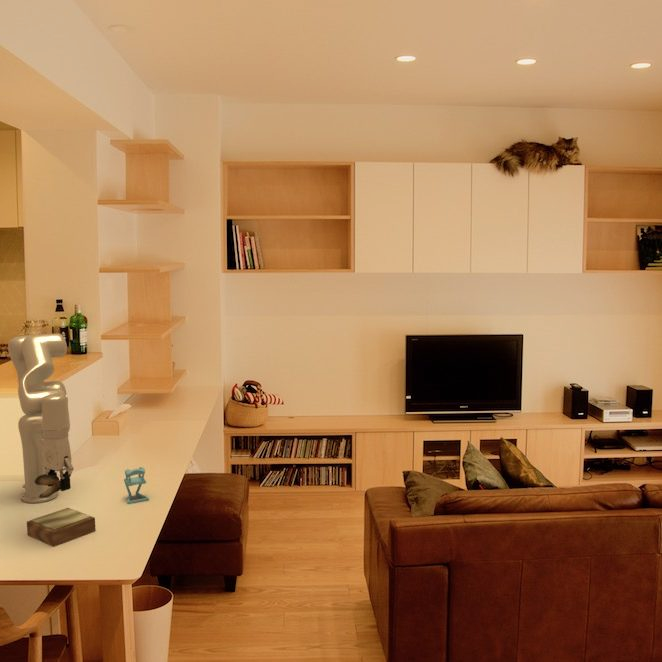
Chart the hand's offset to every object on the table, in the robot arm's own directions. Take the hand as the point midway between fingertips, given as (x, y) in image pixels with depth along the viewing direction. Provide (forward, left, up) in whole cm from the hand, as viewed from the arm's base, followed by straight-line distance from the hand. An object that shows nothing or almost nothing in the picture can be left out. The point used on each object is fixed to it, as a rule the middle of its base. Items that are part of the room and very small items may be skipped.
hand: (59, 487), depth 237 cm
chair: (-6, +34, -16) cm, 38 cm away
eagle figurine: (0, -2, -2) cm, 3 cm away
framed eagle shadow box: (0, 0, -15) cm, 15 cm away
